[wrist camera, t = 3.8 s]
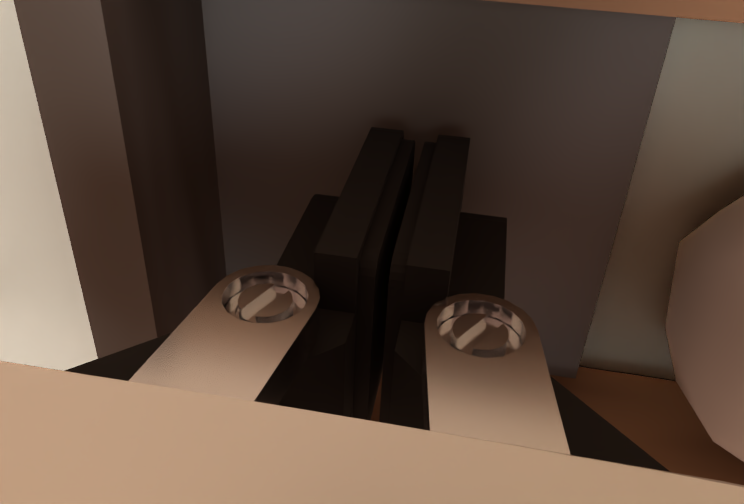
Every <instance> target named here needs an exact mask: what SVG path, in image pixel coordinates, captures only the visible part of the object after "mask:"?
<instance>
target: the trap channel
mask: <svg viewBox="0 0 744 504" xmlns="http://www.w3.org/2000/svg"><path fill="white" fill-rule="evenodd" d="M14 4H15V8H16V12H17V17H18V21H19V25H20V29H21V34H22V38H23V42H24V46H25V51H26V55H27V59H28V63H29V68H30V72H31V76H32V80H33V85H34V89H35V93H36V97H37V101H38V106H39V110H40V114H41V118H42V123H43V127H44V131H45V135H46V140H47V144H48V148H49V152H50V157H51V161H52V165H53V169H54V174H55V178H56V182H57V186H58V191H59V195H60V199H61V203H62V207H63V212H64V216H65V220H66V224H67V229H68V233H69V237H70V241H71V246H72V250H73V254H74V258H75V263H76V267H77V271H78V275H79V280H80V284H81V288H82V292H83V296H84V301H85V305H86V309H87V313H88V318H89V322H90V326H91V330H92V335H93V339H94V343H95V347H96V352H97V356H98V359H99V358H102V357H105V356H107V355H110V354H113V353H116V352H119V351H121V350H124V349H127V348H130V347H133V346H135V345H138V344H141V343H144V342H147V341H149V340H152V339H155V338H158V337H160V336H163V335H166V334H169V333H172V332H173V331H174V330H175V329H176V328H177V327H178V326H179V325H180V324H181V322H182V321H183V320H184V319H185V318H186V317H187V316H188V315H189V314H190V313H191V311H192V310H193V309H194V308H195V307H196V306H197V305H198V304H199V303H200V302H201V300H202V299H203V298H204V297H205V296H206V295H207V294H208V293H209V292H210V291H211V289H212V288H213V287H214V286H215V285H216V284H217V283H218V282H220V281H221V280H222V279H223V278H225V277H226V276H227V275H229V274H231V273H234V272H236V271H238V270H240V269H244V268H248V267H253V266H260V265H277V263H278V261H279V259H280V257H281V256H282V254H283V252H284V250H285V248H286V246H287V244H288V242H289V240H290V238H291V236H292V235H293V233H294V231H295V229H296V227H297V225H298V223H299V221H300V219H301V217H302V215H303V214H304V212H305V210H306V208H307V206H308V204H309V202H310V200H311V198H312V197H313V196H314V194H322V195H330V196H338V197H340V194H341V192H342V190H343V188H344V186H345V183H346V181H347V179H348V177H349V175H350V173H351V170H352V168H353V166H354V164H355V162H356V159H357V157H358V155H359V153H360V151H361V148H362V146H363V144H364V142H365V140H366V137H367V135H368V133H369V131H370V129H371V127H377V128H386V129H395V130H403V131H404V139H407V140H415V154H414V166H413V179H412V185H413V181H414V177H415V174H416V170H417V167H418V163H419V160H420V156H421V153H422V149H423V146H424V142H434V143H436V142H437V138H438V134H439V135H448V136H457V137H466V138H470V146H469V154H468V162H467V169H466V177H465V185H464V192H463V200H462V208H461V212H465V213H473V214H481V215H489V216H497V217H505V218H507V239H506V268H505V298H504V300H507V301H509V302H511V303H513V304H514V305H516V306H518V307H519V308H521V309H523V310H524V311H525V312H526V313H527V314H528V315H529V316H530V317H531V318H532V320H533V322H534V324H535V326H536V328H537V330H538V333H539V337H540V340H541V344H542V348H543V352H544V356H545V359H546V363H547V367H548V371H549V375H550V376H551V377H553V378H554V379H555V380H556V381H558V382H559V383H560V384H561V385H563V386H564V387H565V388H566V389H568V390H569V391H570V392H571V393H573V394H574V395H575V396H576V397H578V398H579V399H580V400H581V401H583V402H584V403H585V404H586V405H588V406H589V407H590V408H591V409H593V410H594V411H595V412H596V413H598V414H599V415H600V416H601V417H603V418H604V419H605V420H606V421H608V422H609V423H610V424H611V425H613V426H614V427H615V428H616V429H618V430H619V431H620V432H621V433H623V434H624V435H625V436H626V437H628V438H629V439H630V440H631V441H633V442H634V443H635V444H636V445H638V446H639V447H640V448H641V449H643V450H644V451H645V452H646V453H648V454H649V455H650V456H651V457H653V458H654V459H655V460H656V461H658V462H659V463H660V464H661V465H663V466H664V467H665V468H666V469H668V470H669V471H670V472H673V473H679V474H685V475H691V476H696V477H702V478H708V479H714V480H720V481H725V482H730V483H735V484H740V485H744V462H743V461H741V460H740V459H738V458H737V457H735V456H734V455H732V454H731V453H730V452H728V451H727V450H725V449H724V448H722V447H721V446H719V445H718V444H716V443H715V442H713V441H712V439H711V437H710V436H709V434H708V433H707V431H706V429H705V428H704V426H703V424H702V423H701V421H700V420H699V418H698V416H697V415H696V413H695V411H694V410H693V408H692V406H691V405H690V403H689V402H688V400H687V398H686V397H685V395H684V393H683V392H682V390H681V389H680V387H679V385H678V384H677V382H676V381H671V380H664V379H658V378H651V377H645V376H638V375H631V374H625V373H618V372H612V371H605V370H599V369H592V368H585V367H579V364H580V361H581V357H582V353H583V350H584V346H585V343H586V339H587V335H588V332H589V328H590V325H591V321H592V317H593V314H594V310H595V307H596V303H597V299H598V296H599V292H600V289H601V285H602V282H603V278H604V274H605V271H606V267H607V264H608V260H609V256H610V253H611V249H612V246H613V242H614V238H615V235H616V231H617V228H618V224H619V220H620V217H621V213H622V210H623V206H624V203H625V199H626V195H627V192H628V188H629V185H630V181H631V177H632V174H633V170H634V167H635V163H636V159H637V156H638V152H639V149H640V145H641V141H642V138H643V134H644V131H645V127H646V124H647V120H648V116H649V113H650V109H651V106H652V102H653V98H654V95H655V91H656V88H657V84H658V80H659V77H660V73H661V70H662V66H663V62H664V59H665V55H666V52H667V48H668V45H669V41H670V37H671V34H672V30H673V27H674V23H675V19H676V17H680V18H691V19H703V20H714V21H726V22H737V23H744V0H14ZM382 372H383V371H382ZM381 387H382V375H381V379H380V383H379V388H378V392H377V396H376V400H375V404H374V408H373V412H372V416H371V421H375V422H379V416H380V401H381Z"/></svg>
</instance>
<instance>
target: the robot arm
mask: <svg viewBox="0 0 744 504" xmlns="http://www.w3.org/2000/svg"><path fill="white" fill-rule="evenodd" d="M469 146H470V138H466V137H457V136H448V135H439V134H438V138H437V142H436V143H434V142H424V146H423V149H422V153H421V156H420V160H419V163H418V167H417V170H416V174H415V177H414V181H413V185H412V179H413V166H414V154H415V140H407V139H404V131H403V130H395V129H386V128H377V127H371V129H370V131H369V133H368V135H367V137H366V140H365V142H364V144H363V146H362V148H361V151H360V153H359V155H358V157H357V159H356V162H355V164H354V166H353V168H352V170H351V173H350V175H349V177H348V179H347V181H346V183H345V186H344V188H343V190H342V192H341V194H340V197H338V196H330V195H322V194H314V196H313V197H312V198H311V200H310V202H309V204H308V206H307V208H306V210H305V212H304V214H303V215H302V217H301V219H300V221H299V223H298V225H297V227H296V229H295V231H294V233H293V235H292V236H291V238H290V240H289V242H288V244H287V246H286V248H285V250H284V252H283V254H282V256H281V257H280V259H279V261H278V263H277V265H260V266H253V267H248V268H244V269H240V270H238V271H236V272H234V273H231V274H229V275H227V276H226V277H225V278H223V279H222V280H221V281H220V282H218V283H217V284H216V285H215V286H214V287H213V288H212V289H211V291H210V292H209V293H208V294H207V295H206V296H205V297H204V298H203V299H202V300H201V302H200V303H199V304H198V305H197V306H196V307H195V308H194V309H193V310H192V311H191V313H190V314H189V315H188V316H187V317H186V318H185V319H184V320H183V321H182V322H181V324H180V325H179V326H178V327H177V328H176V329H175V330H174V331H173V332H172V333H169V334H166V335H163V336H160V337H158V338H155V339H152V340H149V341H147V342H144V343H141V344H138V345H135V346H133V347H130V348H127V349H124V350H121V351H119V352H116V353H113V354H110V355H107V356H105V357H102V358H99V359H96V360H93V361H91V362H88V363H85V364H82V365H79V366H77V367H74V368H71V369H68V370H65V371H61V370H55V369H48V368H42V367H36V366H29V365H23V364H17V363H10V362H4V361H0V504H744V485H740V484H735V483H730V482H725V481H720V480H714V479H708V478H702V477H696V476H691V475H685V474H679V473H673V472H670V471H669V470H668V469H666V468H665V467H664V466H663V465H661V464H660V463H659V462H658V461H656V460H655V459H654V458H653V457H651V456H650V455H649V454H648V453H646V452H645V451H644V450H643V449H641V448H640V447H639V446H638V445H636V444H635V443H634V442H633V441H631V440H630V439H629V438H628V437H626V436H625V435H624V434H623V433H621V432H620V431H619V430H618V429H616V428H615V427H614V426H613V425H611V424H610V423H609V422H608V421H606V420H605V419H604V418H603V417H601V416H600V415H599V414H598V413H596V412H595V411H594V410H593V409H591V408H590V407H589V406H588V405H586V404H585V403H584V402H583V401H581V400H580V399H579V398H578V397H576V396H575V395H574V394H573V393H571V392H570V391H569V390H568V389H566V388H565V387H564V386H563V385H561V384H560V383H559V382H558V381H556V380H555V379H554V378H553V377H551V376H550V375H549V371H548V367H547V363H546V359H545V356H544V352H543V348H542V344H541V340H540V337H539V333H538V330H537V328H536V326H535V324H534V322H533V320H532V318H531V317H530V316H529V315H528V314H527V313H526V312H525V311H524V310H523V309H521V308H519V307H518V306H516V305H514V304H513V303H511V302H509V301H507V300H504V298H505V268H506V239H507V218H505V217H497V216H489V215H481V214H473V213H465V212H461V208H462V200H463V192H464V185H465V177H466V169H467V162H468V154H469ZM382 371H383V372H382ZM381 375H382V387H381V401H380V416H379V422H375V421H371V416H372V412H373V408H374V404H375V400H376V396H377V392H378V388H379V383H380V379H381Z"/></svg>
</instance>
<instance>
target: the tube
mask: <svg viewBox="0 0 744 504" xmlns="http://www.w3.org/2000/svg"><path fill="white" fill-rule="evenodd" d="M665 330H666V335H667V340H668V345H669V349H670V354H671V359H672V364H673V369H674V374H675V379H676V382H677V384H678V385H679V387H680V389H681V390H682V392H683V393H684V395H685V397H686V398H687V400H688V402H689V403H690V405H691V406H692V408H693V410H694V411H695V413H696V415H697V416H698V418H699V420H700V421H701V423H702V424H703V426H704V428H705V429H706V431H707V433H708V434H709V436H710V437H711V439H712V441H713V442H715V443H716V444H718V445H719V446H721V447H722V448H724V449H725V450H727V451H728V452H730V453H731V454H732V455H734V456H735V457H737V458H738V459H740V460H741V461H743V462H744V196H742V197H741V198H739V199H737V200H736V201H734V202H733V203H731V204H730V205H728V206H726V207H725V208H723V209H722V210H720V211H719V212H717V213H716V214H715V215H713V216H712V217H711V218H710V219H708V220H707V221H706V222H704V223H703V224H702V225H700V226H699V227H698V228H697V229H695V230H694V231H693V232H691V233H690V234H689V235H688V236H686V237H685V238H684V239H682V240H681V241H680V242H679V246H678V252H677V258H676V264H675V270H674V276H673V282H672V288H671V294H670V299H669V305H668V311H667V317H666V323H665Z"/></svg>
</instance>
